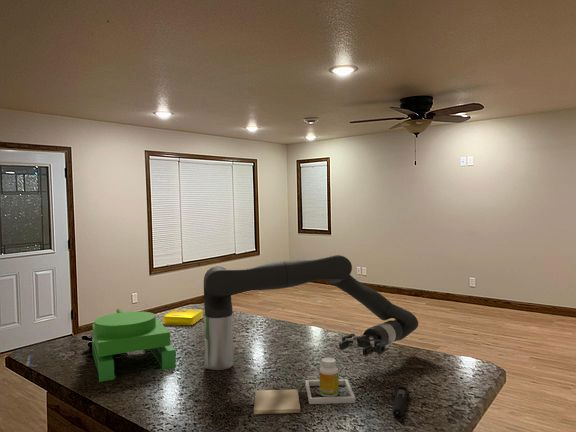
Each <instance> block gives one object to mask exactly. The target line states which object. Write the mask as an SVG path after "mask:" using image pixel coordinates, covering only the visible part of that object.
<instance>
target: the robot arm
mask: <svg viewBox="0 0 576 432" xmlns="http://www.w3.org/2000/svg"><path fill="white" fill-rule="evenodd" d="M352 271H353V265H352V263H351V261H350V259H348V258H347V257H345V256H344V255H340V254H338V255H337V254H335V255H330V256H327V257H321V258H317V259H304V260H303V259H301V260H298V259H297V260H284V261H273V262H267V263H263V264H260V265H256V266H254V267H249V268H245V269H244V268H243V269H227V268H225V267H224V266H219V265H218V266H212V267H210V268H209V269H208V270H207V271H206V272H205V274H204V278H203V306H204V340H203V352H204V353H203V355H204V357H203V358H204V360H203V361H204V366H203V367H204V369H205V370H210V371H211V370H212V371H225V370H227V369H230V368H232V367H233V366H234V334H233V333H234V330H233V328H234V325H233V323H234V321H233V320H234V319H233V317H234V316H233V301H232V295H233V294H238V293H242V292H243V293H244V292H250V291H267V290H268V291H269V290H270V291H271V290H279V289H288V288H293V287H297V286H301V285H304V284H308V283H311V282H315V281H326V282H327V283H330V284H331V285H333V286H334V287H336V288H338V289H340V290H341V291H343V292H344V293H346V294H348V295H349V296H350V297H352V298H354V299H355V300H356V301H357V302H359V303H360V304H361V305H363V306H364V307H365V308H366V309H368V311H370V312H371V313H372V314H374V315H375V316H376V317H377V318H378V319H380V320H382V321H384V322H383V323H382V322H381V323H379V324H376V325H373V326H370V327H369V328H366V329H365V330H364V332H363V333H362V334H361V335H356V334H355V333H350V334H347V335H344V336H342V337H341V342H339V343H338V345H339V346H338V348H339V350H340V351H343V350H346V349H348V348H354V349H360V348H362V356H364V357H366V356H369V355H371V354H373V355H374V354H376V353H377V354H378V355H382V354H383V353H385V352H387V351H388V350H389V347H390V346H391V345H392V343H395V342H397V341H401V340H403V339H405V338H407V337H408V336H409V335H410V334H412V333H413V332H414V331H415V330H416V329H418V327H419V319H418V318H417V317H416V315H414V313H412V312H411V311H408V310H407V309H405V308H402V307H400V306H398V305H396V304H394V303H392V302H391V301H390V300H388V299H387V298H386V297H385V296H384V295H382V294H381V293H380V292H378V291H377V290H375V289H373V288H371V287H370V286H367V285H366V284H363V283H362V282H361V281H359V280H357V279H356V278H354V276H352V275H351V273H352ZM391 319H392V320H391ZM356 342H357V344H356Z"/></svg>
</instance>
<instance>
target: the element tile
mask: <svg viewBox="0 0 576 432" xmlns="http://www.w3.org/2000/svg"><path fill="white" fill-rule="evenodd" d="M202 318H203V319H204V310H203V309H191V308H189V309H188V308H175V309H173V310H171V311H169V312H166V314H163V316H162V322H163V323H162V324H163V326H164V325H165V326H180V325H192V326H194V325H193V324H195V323H196V322H197V323H199V322H200V321H201V320H200V319H202ZM203 319H202V320H203ZM199 320H200V321H199ZM198 321H199V322H198ZM197 323H196V324H197ZM196 324H195V325H196Z"/></svg>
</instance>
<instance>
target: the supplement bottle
mask: <svg viewBox="0 0 576 432" xmlns="http://www.w3.org/2000/svg"><path fill="white" fill-rule="evenodd" d="M339 375H340V374H339V368H338V366H337V360H336V358H333V357H324V358H322V359H321V366H320V367H319V380H320V386H319V394H320V395H321V397H338V395H339V391H340V390H339V386H340V385H339Z"/></svg>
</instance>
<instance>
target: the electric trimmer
mask: <svg viewBox="0 0 576 432" xmlns="http://www.w3.org/2000/svg"><path fill="white" fill-rule="evenodd" d="M394 394H395V395H394V400H393V402H392V408H391V409H392V415H393V416H394V415H395V416H401V417H402V416H403V415H404V412H405V411H406V408H407V407H408V406H407V398H408V397H409V396H410V392H409V390H408V389H407V387H406V386H403V385H402V386H401V385H399V386H398V387H397V388H396V389H395V393H394Z"/></svg>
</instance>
